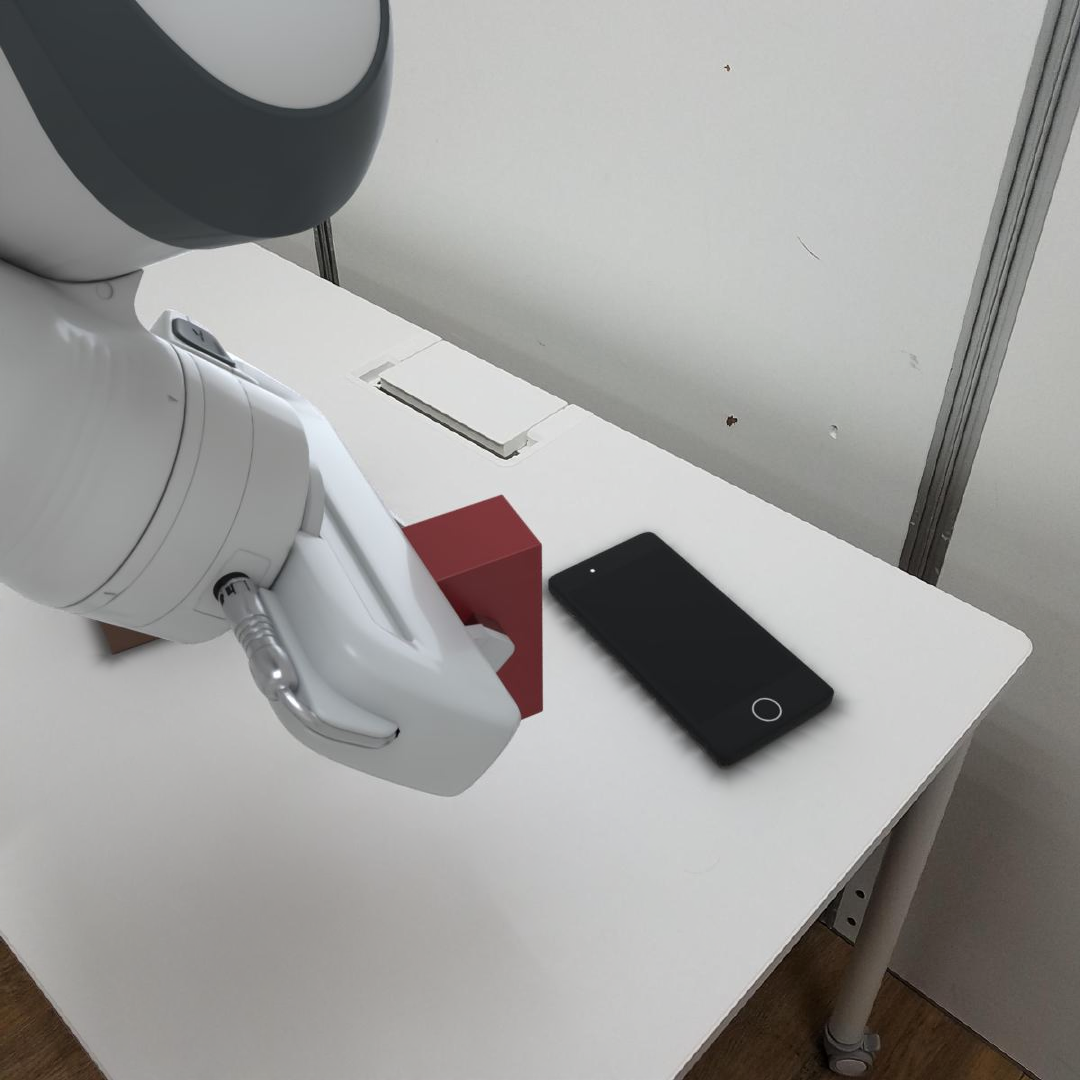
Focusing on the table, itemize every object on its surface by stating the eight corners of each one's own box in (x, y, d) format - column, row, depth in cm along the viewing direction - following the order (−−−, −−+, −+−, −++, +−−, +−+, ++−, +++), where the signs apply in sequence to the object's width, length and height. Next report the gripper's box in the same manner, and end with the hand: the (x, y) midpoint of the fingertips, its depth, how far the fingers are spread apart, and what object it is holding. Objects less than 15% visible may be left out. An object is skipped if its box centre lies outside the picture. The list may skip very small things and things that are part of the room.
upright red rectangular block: (418, 763, 47) (397, 595, 41) (388, 706, 50) (362, 539, 43) (545, 710, 49) (545, 543, 43) (510, 659, 52) (504, 492, 45)
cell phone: (723, 770, 63) (725, 760, 62) (544, 588, 74) (544, 578, 74) (836, 702, 67) (838, 692, 66) (649, 538, 78) (649, 528, 77)
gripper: (352, 636, 28) (655, 734, 38) (160, 286, 42) (420, 425, 52) (215, 808, 30) (541, 860, 40) (72, 416, 43) (341, 527, 53)
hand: (471, 611), depth 46 cm, fingers closed on upright red rectangular block, 3 cm apart
